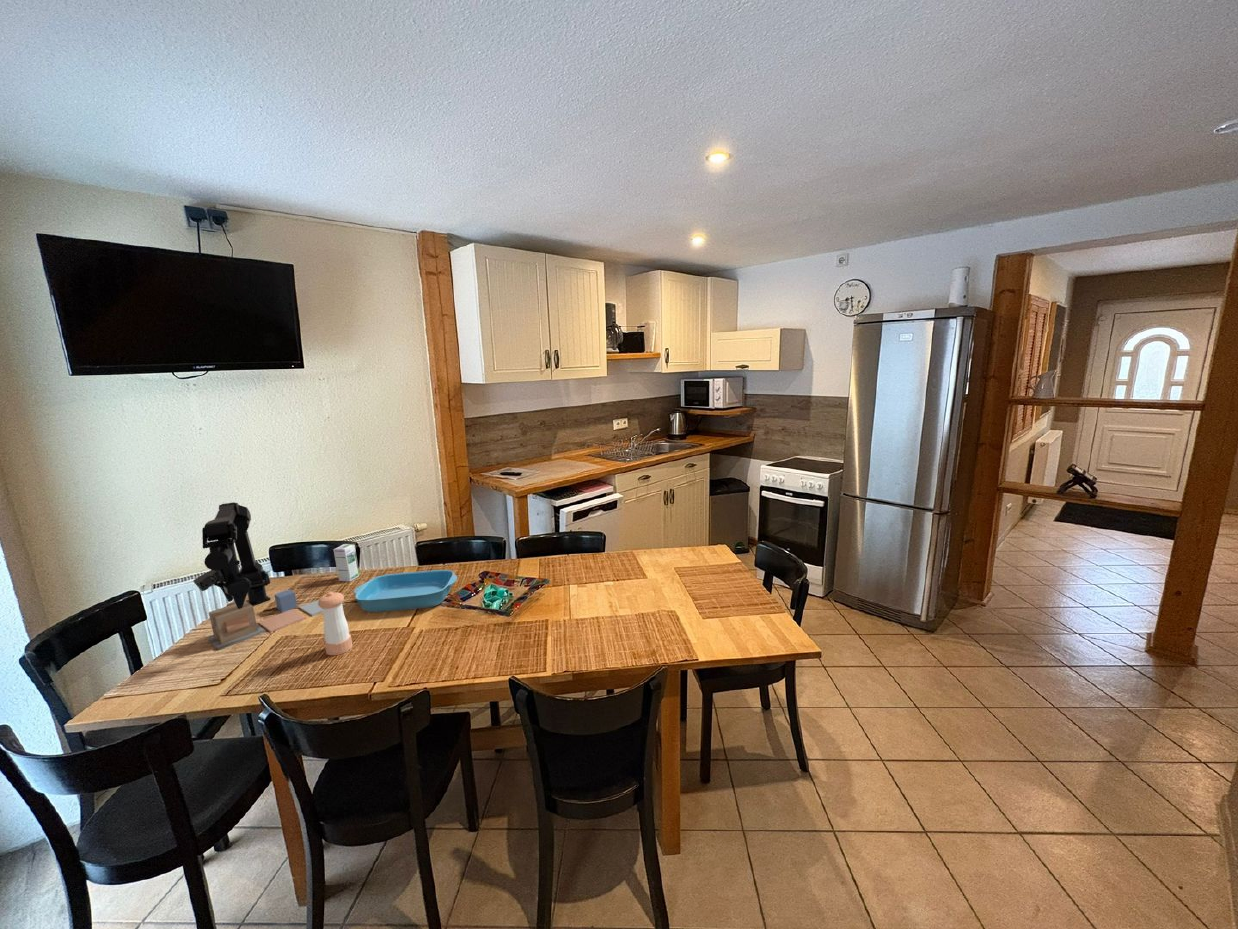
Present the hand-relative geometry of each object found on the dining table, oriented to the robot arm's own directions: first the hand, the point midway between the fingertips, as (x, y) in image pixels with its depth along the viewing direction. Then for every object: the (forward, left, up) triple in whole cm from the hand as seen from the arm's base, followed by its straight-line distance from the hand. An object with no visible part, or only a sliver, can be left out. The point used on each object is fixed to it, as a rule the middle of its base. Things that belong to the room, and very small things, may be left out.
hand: (235, 604), depth 160 cm
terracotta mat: (-4, +13, -13) cm, 19 cm away
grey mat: (-4, +26, -13) cm, 29 cm away
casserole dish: (+20, +47, -14) cm, 53 cm away
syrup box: (-21, +44, -13) cm, 50 cm away
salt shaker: (+33, +16, -13) cm, 39 cm away
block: (-14, +18, -13) cm, 26 cm away
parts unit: (-6, 0, -13) cm, 14 cm away
